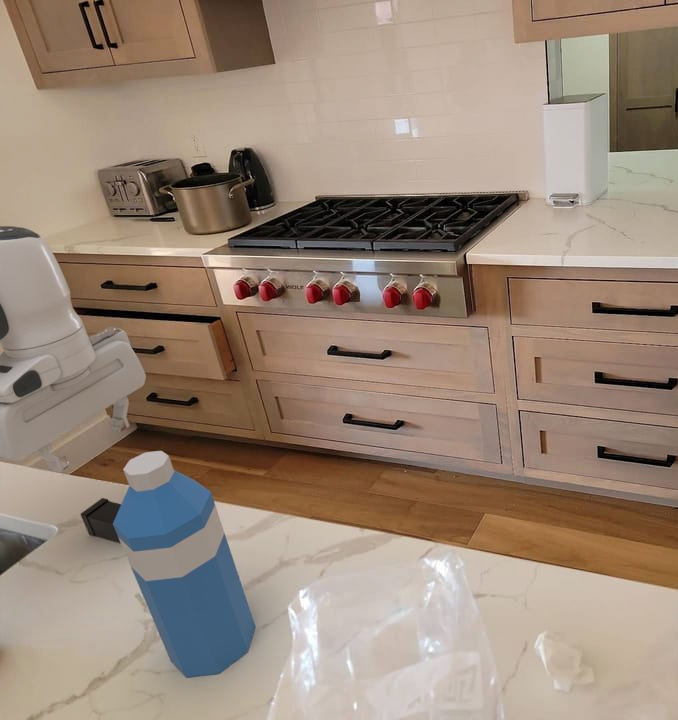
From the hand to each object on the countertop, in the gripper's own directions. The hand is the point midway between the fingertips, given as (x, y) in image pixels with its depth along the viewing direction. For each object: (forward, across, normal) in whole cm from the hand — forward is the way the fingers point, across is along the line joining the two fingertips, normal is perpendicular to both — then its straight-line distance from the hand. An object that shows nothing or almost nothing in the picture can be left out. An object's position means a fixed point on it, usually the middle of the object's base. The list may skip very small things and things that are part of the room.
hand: (92, 448), depth 90 cm
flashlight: (+14, 0, 0) cm, 15 cm away
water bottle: (+15, +11, +26) cm, 32 cm away
